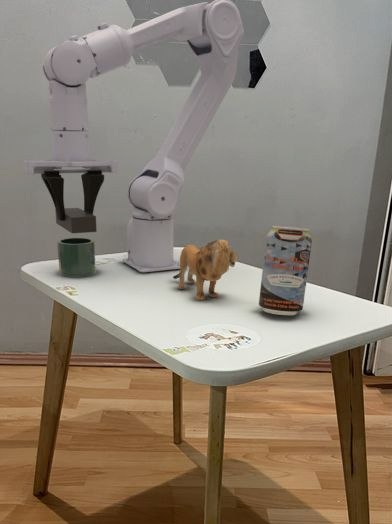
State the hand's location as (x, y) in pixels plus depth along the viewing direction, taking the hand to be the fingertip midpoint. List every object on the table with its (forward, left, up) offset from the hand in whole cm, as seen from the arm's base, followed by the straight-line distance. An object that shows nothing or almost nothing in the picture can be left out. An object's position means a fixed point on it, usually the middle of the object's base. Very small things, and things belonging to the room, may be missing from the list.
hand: (75, 219), depth 93 cm
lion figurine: (+19, +14, -9) cm, 25 cm away
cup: (0, 0, -9) cm, 9 cm away
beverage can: (+32, +20, -9) cm, 39 cm away
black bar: (0, 0, -1) cm, 1 cm away
